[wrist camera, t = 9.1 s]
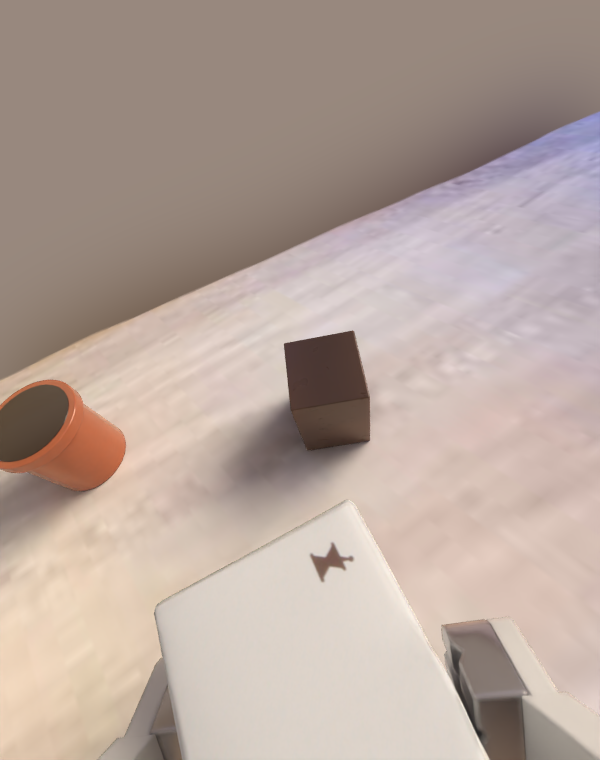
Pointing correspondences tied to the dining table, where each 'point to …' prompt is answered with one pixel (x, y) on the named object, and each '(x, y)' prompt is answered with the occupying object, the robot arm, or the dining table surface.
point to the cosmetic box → (308, 657)
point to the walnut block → (328, 390)
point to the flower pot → (58, 437)
